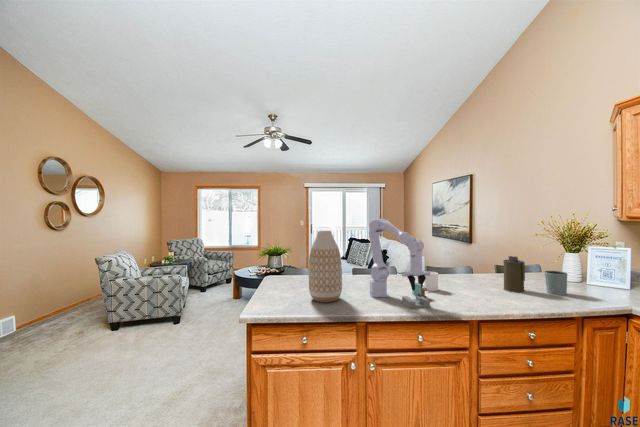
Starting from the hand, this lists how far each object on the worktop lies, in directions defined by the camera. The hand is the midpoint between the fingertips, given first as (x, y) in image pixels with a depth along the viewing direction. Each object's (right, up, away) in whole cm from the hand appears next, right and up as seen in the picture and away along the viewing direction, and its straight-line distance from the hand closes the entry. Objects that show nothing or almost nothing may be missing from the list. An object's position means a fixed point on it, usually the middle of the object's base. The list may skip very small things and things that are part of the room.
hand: (416, 289), depth 149 cm
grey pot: (+84, -6, +15) cm, 86 cm away
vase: (-47, -8, +11) cm, 49 cm away
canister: (+66, -6, +22) cm, 70 cm away
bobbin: (+6, -7, +11) cm, 15 cm away
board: (-1, -7, -1) cm, 7 cm away
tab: (0, -3, -1) cm, 3 cm away
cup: (+16, -7, +27) cm, 33 cm away
